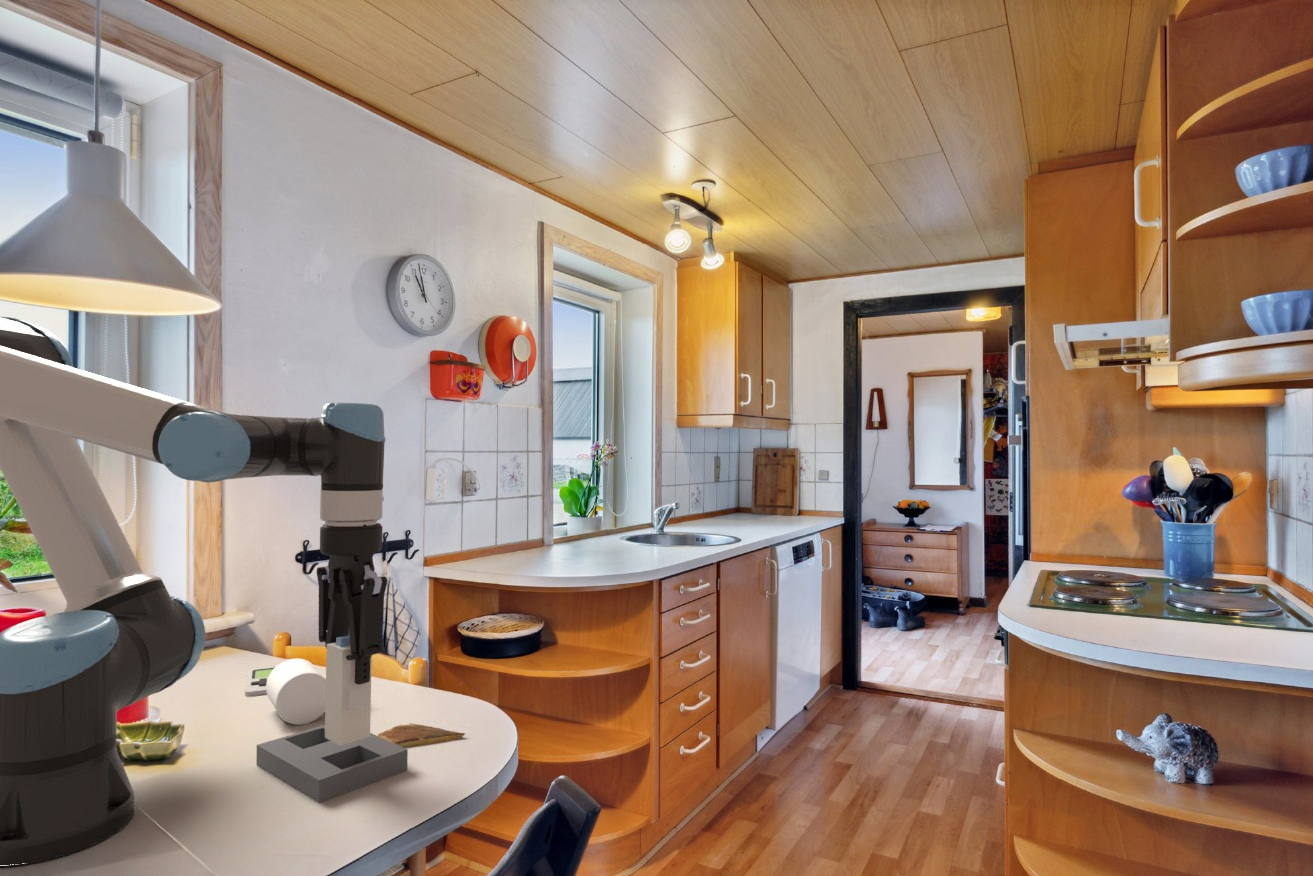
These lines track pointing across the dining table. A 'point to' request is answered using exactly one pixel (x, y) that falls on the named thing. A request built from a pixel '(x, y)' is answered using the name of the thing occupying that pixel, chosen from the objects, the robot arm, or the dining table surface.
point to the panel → (330, 762)
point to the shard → (418, 735)
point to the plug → (343, 698)
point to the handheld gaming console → (257, 681)
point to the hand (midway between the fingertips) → (348, 703)
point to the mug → (297, 691)
